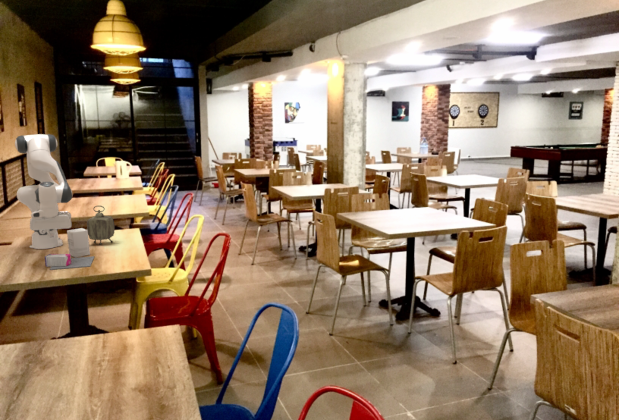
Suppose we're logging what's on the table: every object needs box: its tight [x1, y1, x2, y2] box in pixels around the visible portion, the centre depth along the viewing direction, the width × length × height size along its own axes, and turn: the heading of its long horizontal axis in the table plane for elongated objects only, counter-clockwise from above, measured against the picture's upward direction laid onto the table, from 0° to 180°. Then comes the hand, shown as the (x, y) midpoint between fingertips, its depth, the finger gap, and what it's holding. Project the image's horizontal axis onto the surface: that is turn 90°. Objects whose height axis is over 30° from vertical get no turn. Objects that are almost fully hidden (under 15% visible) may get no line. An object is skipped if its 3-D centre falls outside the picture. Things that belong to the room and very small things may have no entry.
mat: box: [49, 255, 95, 271], centre depth 285 cm, size 20×20×1 cm
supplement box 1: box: [44, 253, 72, 267], centre depth 280 cm, size 6×6×12 cm
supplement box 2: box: [66, 227, 91, 258], centre depth 301 cm, size 9×9×15 cm
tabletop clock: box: [86, 205, 115, 246], centre depth 325 cm, size 14×9×25 cm, turn 92°
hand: (52, 237), depth 281 cm, fingers closed
